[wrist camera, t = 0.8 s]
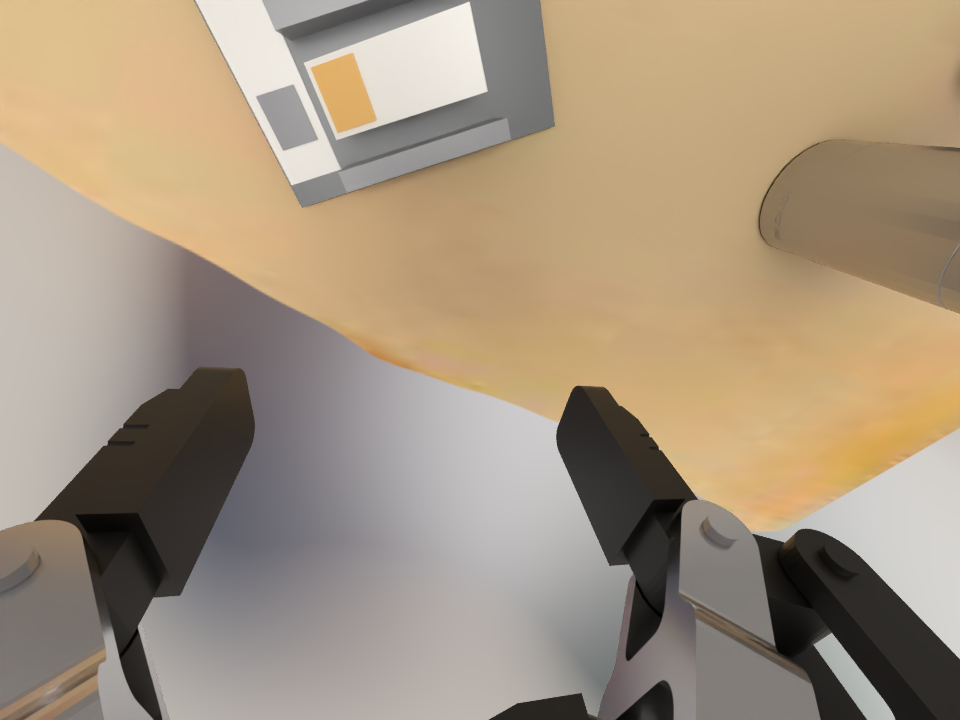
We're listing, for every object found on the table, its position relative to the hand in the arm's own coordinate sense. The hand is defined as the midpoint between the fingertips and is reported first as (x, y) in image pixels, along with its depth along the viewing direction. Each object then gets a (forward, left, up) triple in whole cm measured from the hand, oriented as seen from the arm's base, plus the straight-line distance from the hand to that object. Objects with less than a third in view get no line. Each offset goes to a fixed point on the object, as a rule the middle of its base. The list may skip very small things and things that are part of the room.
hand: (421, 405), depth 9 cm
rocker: (-2, -7, -19) cm, 20 cm away
